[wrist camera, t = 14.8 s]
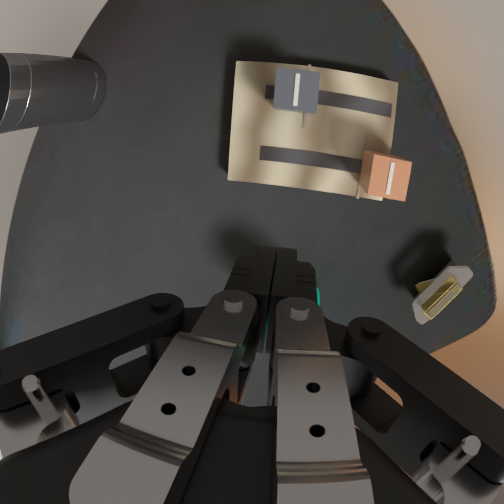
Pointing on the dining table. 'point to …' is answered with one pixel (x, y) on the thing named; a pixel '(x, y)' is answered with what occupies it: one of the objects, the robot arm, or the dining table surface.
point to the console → (309, 129)
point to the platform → (439, 291)
